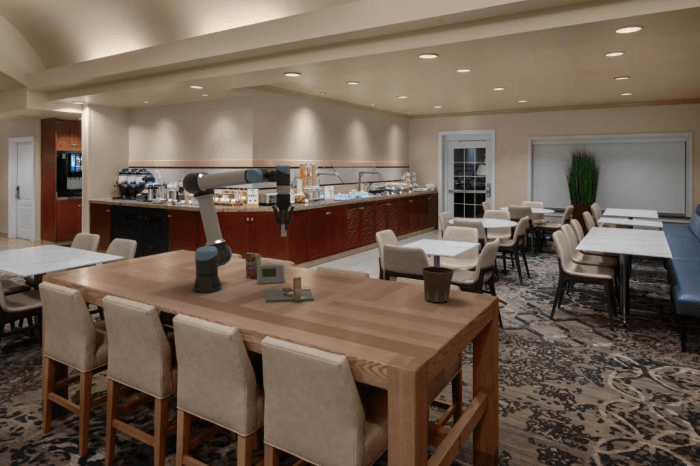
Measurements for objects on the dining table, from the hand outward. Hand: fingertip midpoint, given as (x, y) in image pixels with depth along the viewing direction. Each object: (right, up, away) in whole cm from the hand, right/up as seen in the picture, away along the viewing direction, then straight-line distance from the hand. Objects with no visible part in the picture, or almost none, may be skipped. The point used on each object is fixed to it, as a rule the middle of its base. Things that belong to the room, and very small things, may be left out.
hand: (283, 236), depth 273 cm
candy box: (-22, -26, +29) cm, 45 cm away
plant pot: (+81, -33, -18) cm, 90 cm away
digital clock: (-10, -28, +17) cm, 34 cm away
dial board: (+5, -32, -15) cm, 35 cm away
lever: (+6, -31, -18) cm, 36 cm away
